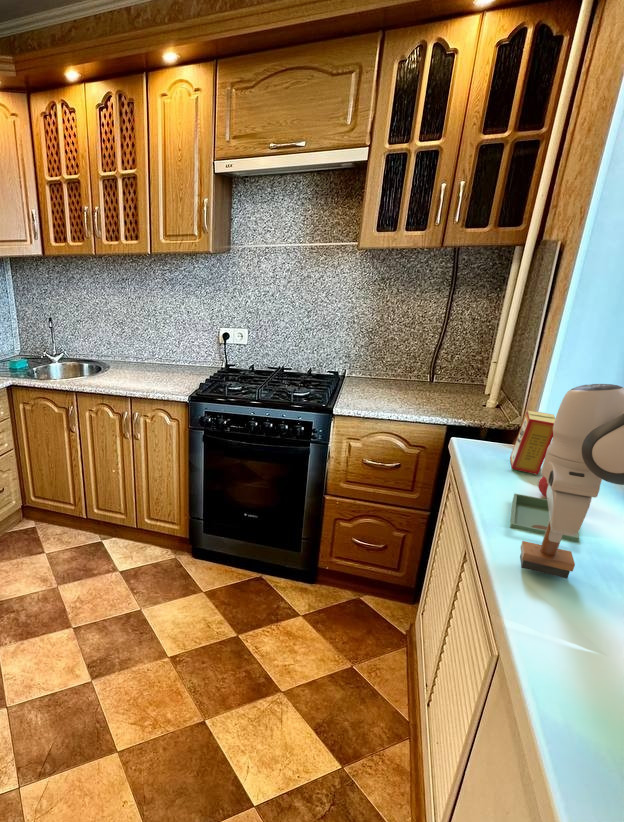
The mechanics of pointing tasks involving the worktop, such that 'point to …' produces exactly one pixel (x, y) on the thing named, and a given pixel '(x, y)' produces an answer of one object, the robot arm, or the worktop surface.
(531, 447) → the baking soda box
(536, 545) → the brush
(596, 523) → the worktop surface
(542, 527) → the brown disc
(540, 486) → the tomato
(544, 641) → the worktop surface
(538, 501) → the tray
